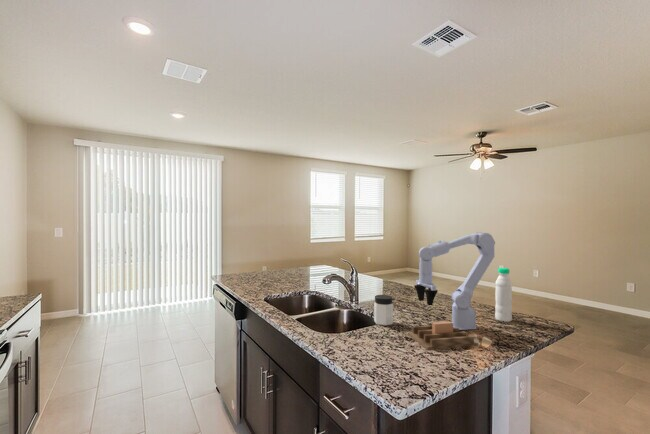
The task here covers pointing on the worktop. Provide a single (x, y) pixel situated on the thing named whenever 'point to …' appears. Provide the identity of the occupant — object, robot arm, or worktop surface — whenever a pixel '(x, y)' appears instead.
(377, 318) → the jar
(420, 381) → the worktop surface
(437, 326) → the tile
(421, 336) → the rack
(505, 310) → the water bottle
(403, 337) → the worktop surface
